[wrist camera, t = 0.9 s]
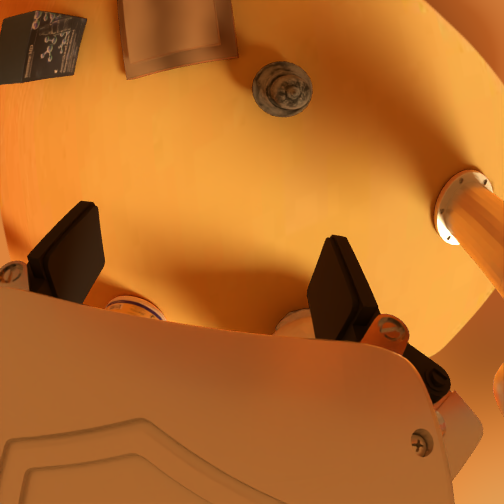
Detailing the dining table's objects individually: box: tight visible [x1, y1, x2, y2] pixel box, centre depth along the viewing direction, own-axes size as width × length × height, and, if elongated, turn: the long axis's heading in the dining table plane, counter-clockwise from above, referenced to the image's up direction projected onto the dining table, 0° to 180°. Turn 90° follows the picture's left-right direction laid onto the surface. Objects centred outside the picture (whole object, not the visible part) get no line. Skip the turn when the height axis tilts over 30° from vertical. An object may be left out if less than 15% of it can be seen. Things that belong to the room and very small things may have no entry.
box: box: [0, 10, 87, 85], centre depth 18 cm, size 8×6×11 cm
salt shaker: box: [252, 61, 313, 117], centre depth 22 cm, size 6×6×12 cm
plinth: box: [117, 0, 238, 80], centre depth 20 cm, size 12×12×4 cm
